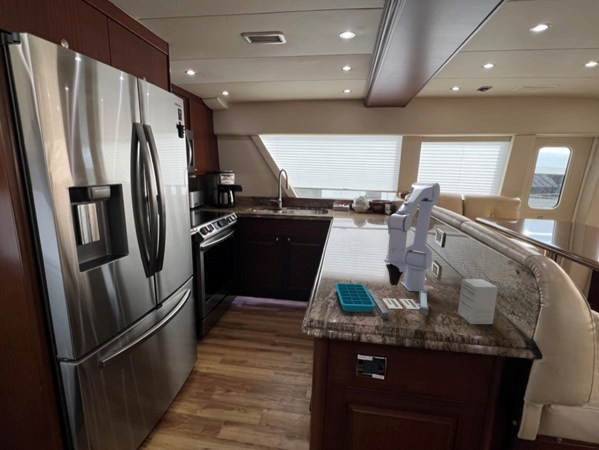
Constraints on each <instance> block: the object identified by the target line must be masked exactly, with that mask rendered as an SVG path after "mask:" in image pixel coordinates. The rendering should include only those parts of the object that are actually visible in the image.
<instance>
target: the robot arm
mask: <svg viewBox="0 0 599 450" xmlns="http://www.w3.org/2000/svg"><path fill="white" fill-rule="evenodd" d="M409 193H410V196H409V198H408V199H407V200H406V201H404V202H402V204H400V207H398V209H397V210H396V212H395V213H393V214H390V215H389V217H388V220H387V223H386V225H387V231H388V232H387V233H388V235H389V238H388V239H389V240H388V251H387V254H386V258H384V260H383V261H384V262H385V263H386V264H385V266H386V267H385V268H386V269H387V272H388V277H389V278H388V279H389V284H390V285H391V286H398V284H399V281H400V279H401V277H402V275H403V278H402V281H400V284H402V286H403V287H404V288H405V289H406V290H407V291H408V292H419V291H420V290H424V291H427V292H429V289H427V288H426V287H425V284H426V283H425V282H426V273H427V270H428V269H430V267H431V266H432V261H433V260H432V259H433V258H432V255H433V252H432V250H431V249H430V248H429V247H428V246H427V239H428V234H429V230H430V229H429V228H430V222H431V217H432V211H433V208H434V206H436V205H438V203H439V199H440V194H441V186H440V184H439V183H438V182H416V181H415V182H413V183H412V184H411V185H410V192H409ZM417 206H418V207H419V208H418V207H417ZM418 209H419V210H418ZM417 212H418V215H417V221H416V226H415V232H414V237H413V242H412V244H410V245H408V246H407V240H408V239H407V236H408V232H409V231H410V230H411V225H412V223H413V218H414V216H415V215H416V213H417Z"/></svg>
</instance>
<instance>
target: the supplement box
mask: <svg viewBox="0 0 599 450" xmlns="http://www.w3.org/2000/svg"><path fill="white" fill-rule="evenodd" d="M460 286H461V287H460V292H459V293H460V294H459V304H458V310H457V314H458V315H459V316H460V317H462V318H463V319H464V320H465V321H466V322H468V323H469V324H471V325H493V324H494V318H495V317H494V316H495V310H496V303H497V298H498V297H497V296H498V289H499V287H498V286H496V285H494V284H492V283H490V282H488V281H487V280H485V279H482V278H479V279H478V278H462V279H461V285H460Z"/></svg>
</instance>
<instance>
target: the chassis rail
mask: <svg viewBox="0 0 599 450" xmlns="http://www.w3.org/2000/svg"><path fill="white" fill-rule="evenodd" d="M366 289H367V291H368V293H369V294H370V296H371V298H372V300H373V301H374V303H375V306H374V307H375V309H376V310H377V312H378V314H379V315H380V317H381V319H389V316H390V315H389V314H390V312H389V311H388V310H387V308H386V306H385V305H384V304H383V302H382V301H381V299H380V298H379V297H378V295H377V293H375V291H374V289H373V288H366Z"/></svg>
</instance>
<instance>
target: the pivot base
mask: <svg viewBox="0 0 599 450" xmlns="http://www.w3.org/2000/svg"><path fill="white" fill-rule="evenodd" d="M418 301H419V300H416V301H415V303H416V304H417V305H418V306H419V307H420V304H419V303H418ZM427 307H428V308H430V303H428V302H427Z"/></svg>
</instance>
